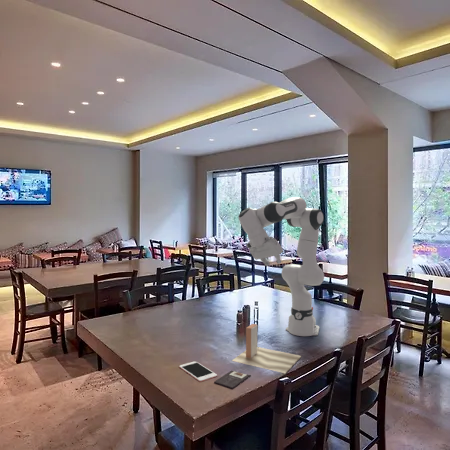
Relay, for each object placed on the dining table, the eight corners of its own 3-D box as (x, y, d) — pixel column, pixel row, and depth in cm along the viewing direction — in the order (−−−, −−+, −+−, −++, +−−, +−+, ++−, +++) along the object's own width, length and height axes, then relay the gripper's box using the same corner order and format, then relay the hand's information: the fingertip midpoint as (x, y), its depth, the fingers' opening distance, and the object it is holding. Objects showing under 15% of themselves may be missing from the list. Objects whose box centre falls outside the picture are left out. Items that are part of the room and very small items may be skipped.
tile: (252, 351, 179) (252, 323, 178) (257, 353, 177) (257, 324, 177) (245, 356, 173) (246, 327, 172) (251, 358, 171) (251, 328, 171)
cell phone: (200, 382, 148) (200, 380, 148) (178, 367, 163) (178, 365, 163) (217, 377, 153) (217, 374, 153) (195, 362, 168) (195, 360, 168)
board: (251, 346, 187) (251, 345, 187) (301, 357, 174) (301, 355, 174) (231, 362, 168) (231, 360, 168) (285, 374, 155) (285, 373, 155)
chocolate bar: (214, 381, 147) (237, 366, 162) (214, 383, 147) (237, 368, 162) (232, 387, 142) (255, 371, 157) (232, 390, 142) (255, 373, 157)
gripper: (277, 232, 169) (291, 258, 170) (252, 239, 186) (265, 263, 187) (268, 239, 166) (282, 265, 167) (244, 246, 183) (257, 269, 184)
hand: (273, 264), depth 177 cm, fingers open, 8 cm apart
